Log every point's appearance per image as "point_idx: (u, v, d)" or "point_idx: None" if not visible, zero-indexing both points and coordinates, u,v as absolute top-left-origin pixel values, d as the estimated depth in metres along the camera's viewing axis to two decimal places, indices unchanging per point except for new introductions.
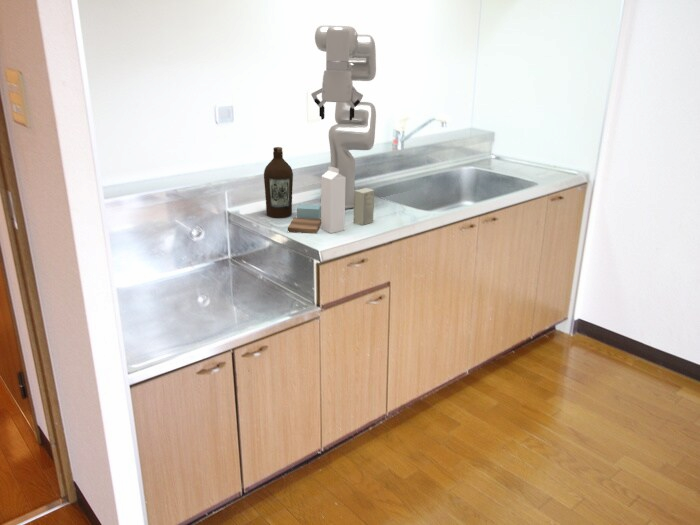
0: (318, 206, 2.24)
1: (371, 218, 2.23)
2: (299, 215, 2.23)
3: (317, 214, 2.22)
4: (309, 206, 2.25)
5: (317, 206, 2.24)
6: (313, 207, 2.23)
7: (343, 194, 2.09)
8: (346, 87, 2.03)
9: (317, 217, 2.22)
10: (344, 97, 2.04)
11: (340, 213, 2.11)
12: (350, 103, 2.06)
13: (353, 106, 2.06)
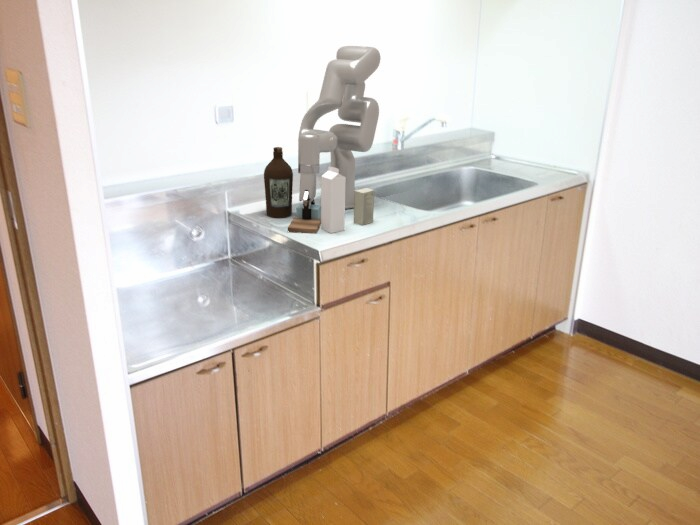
0: (318, 207, 2.24)
1: (371, 218, 2.23)
2: (299, 215, 2.23)
3: (316, 214, 2.22)
4: None
5: (317, 206, 2.24)
6: (312, 207, 2.23)
7: (343, 194, 2.09)
8: None
9: (316, 217, 2.22)
10: (315, 193, 2.25)
11: (340, 213, 2.11)
12: None
13: (313, 200, 2.28)
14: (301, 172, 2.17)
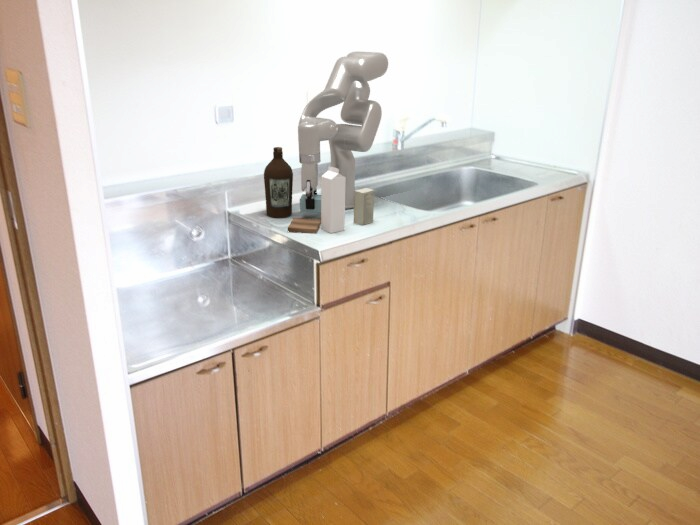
0: (320, 197, 2.24)
1: (371, 218, 2.23)
2: (302, 206, 2.23)
3: (320, 205, 2.22)
4: None
5: (320, 196, 2.24)
6: (316, 197, 2.23)
7: (343, 194, 2.09)
8: None
9: (320, 208, 2.22)
10: None
11: (340, 213, 2.11)
12: (316, 187, 2.26)
13: (316, 190, 2.27)
14: (302, 162, 2.16)
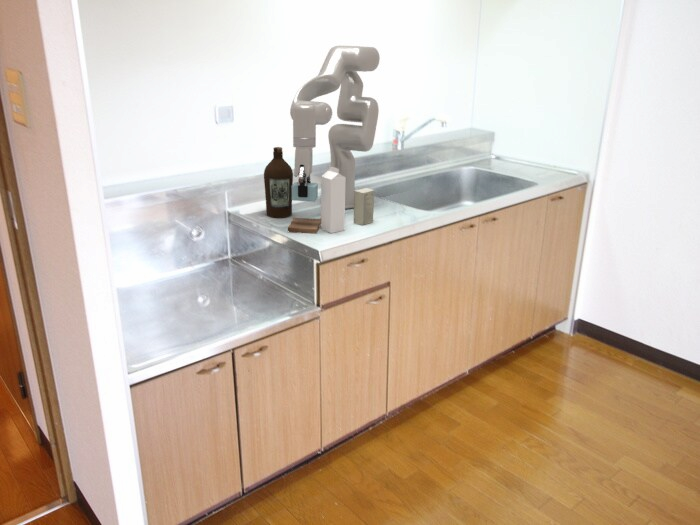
0: (314, 185, 2.11)
1: (371, 218, 2.23)
2: (294, 194, 2.09)
3: (313, 192, 2.09)
4: None
5: (314, 184, 2.11)
6: (309, 185, 2.10)
7: (343, 194, 2.09)
8: (312, 159, 2.11)
9: (313, 196, 2.09)
10: (311, 169, 2.12)
11: (340, 213, 2.11)
12: (309, 176, 2.13)
13: (309, 179, 2.14)
14: (296, 146, 2.04)
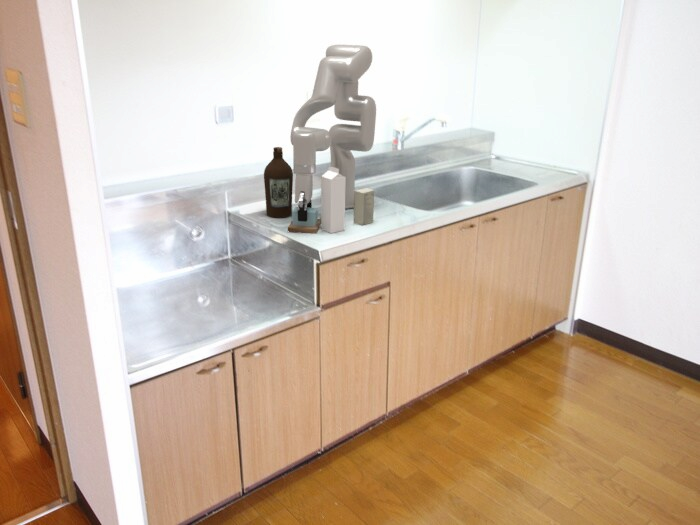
0: (314, 209, 2.14)
1: (371, 218, 2.23)
2: (295, 219, 2.13)
3: (313, 218, 2.12)
4: None
5: (314, 209, 2.14)
6: (309, 210, 2.13)
7: (343, 194, 2.09)
8: (312, 184, 2.14)
9: (313, 221, 2.12)
10: None
11: (340, 213, 2.11)
12: None
13: (310, 200, 2.19)
14: (296, 173, 2.07)
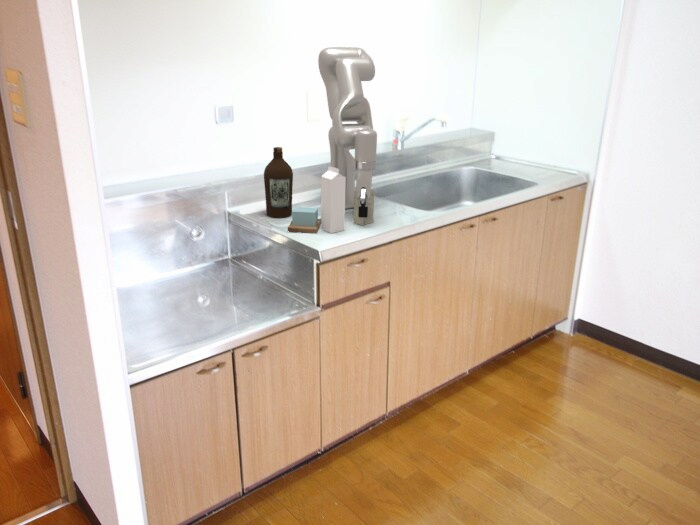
0: (314, 209, 2.14)
1: (371, 218, 2.23)
2: (295, 219, 2.13)
3: (313, 218, 2.12)
4: (305, 209, 2.15)
5: (314, 209, 2.14)
6: (309, 210, 2.13)
7: (343, 194, 2.09)
8: None
9: (313, 221, 2.12)
10: None
11: (340, 213, 2.11)
12: None
13: None
14: (358, 169, 2.14)
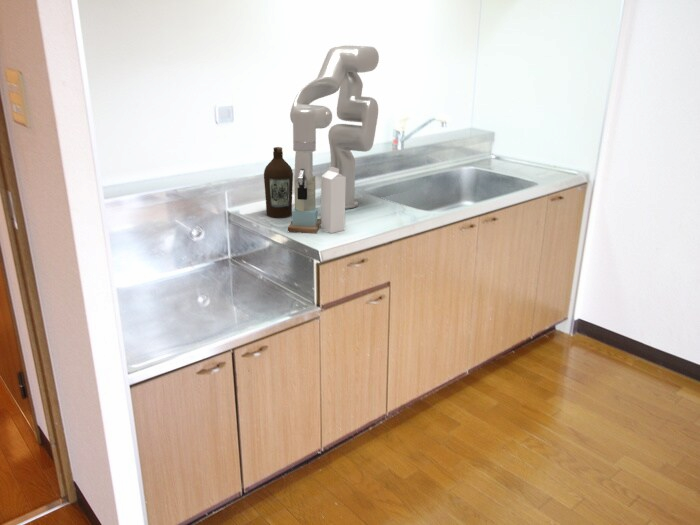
0: (314, 209, 2.14)
1: (313, 205, 2.14)
2: (295, 219, 2.13)
3: (313, 217, 2.12)
4: None
5: (314, 209, 2.14)
6: (309, 210, 2.13)
7: (343, 194, 2.09)
8: (312, 162, 2.12)
9: (313, 221, 2.12)
10: None
11: (340, 213, 2.11)
12: None
13: None
14: (296, 150, 2.04)
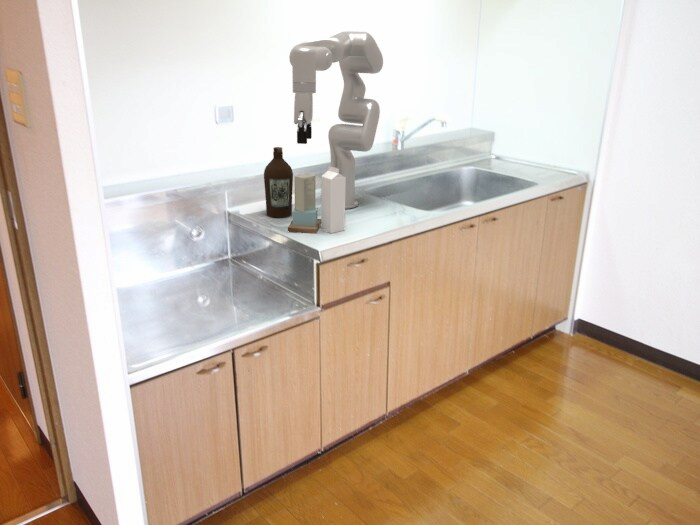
0: (314, 209, 2.14)
1: (313, 205, 2.14)
2: (295, 219, 2.13)
3: (313, 217, 2.12)
4: None
5: (314, 209, 2.14)
6: (309, 210, 2.13)
7: (343, 194, 2.09)
8: (312, 106, 2.05)
9: (313, 221, 2.12)
10: None
11: (340, 213, 2.11)
12: (310, 122, 2.08)
13: (310, 124, 2.09)
14: (296, 91, 1.97)
